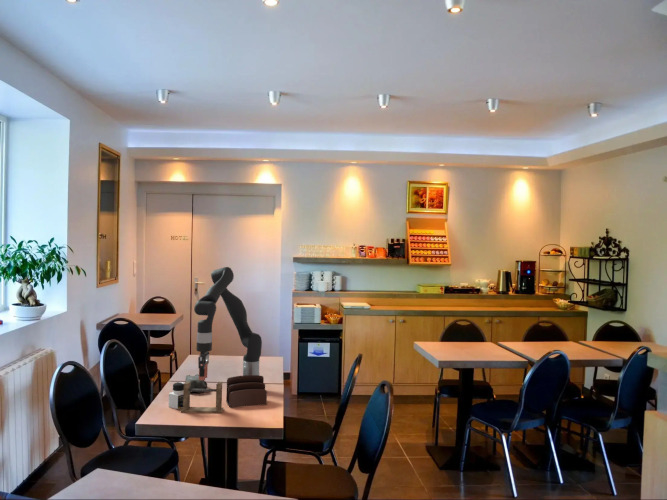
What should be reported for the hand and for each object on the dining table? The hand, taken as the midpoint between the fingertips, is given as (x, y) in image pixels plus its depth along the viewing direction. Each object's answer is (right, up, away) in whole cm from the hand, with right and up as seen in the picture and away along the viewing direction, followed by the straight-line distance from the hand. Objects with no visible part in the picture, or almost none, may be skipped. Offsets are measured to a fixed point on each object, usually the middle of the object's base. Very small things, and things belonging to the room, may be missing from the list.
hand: (203, 374), depth 257 cm
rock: (-14, -18, +38) cm, 44 cm away
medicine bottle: (-14, -18, +6) cm, 24 cm away
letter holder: (+19, -19, +14) cm, 31 cm away
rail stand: (0, -18, 0) cm, 18 cm away
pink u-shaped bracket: (0, -2, 0) cm, 2 cm away
